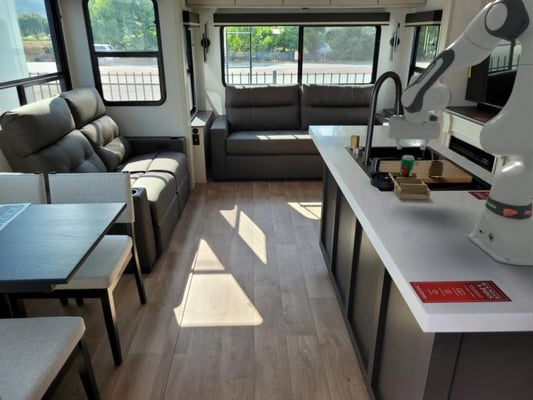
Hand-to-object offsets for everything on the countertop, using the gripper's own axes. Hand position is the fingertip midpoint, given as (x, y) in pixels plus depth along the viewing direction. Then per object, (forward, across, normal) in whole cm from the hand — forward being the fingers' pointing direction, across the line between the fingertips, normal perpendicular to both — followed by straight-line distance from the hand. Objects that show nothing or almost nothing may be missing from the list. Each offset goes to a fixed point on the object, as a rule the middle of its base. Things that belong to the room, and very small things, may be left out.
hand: (410, 149), depth 159 cm
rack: (+17, 0, -3) cm, 17 cm away
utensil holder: (+16, +17, +15) cm, 28 cm away
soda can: (+16, 0, +1) cm, 16 cm away
